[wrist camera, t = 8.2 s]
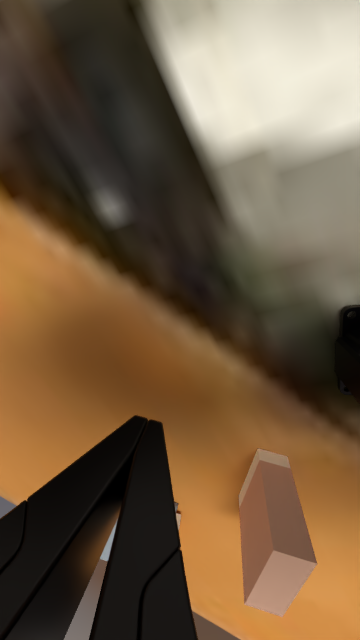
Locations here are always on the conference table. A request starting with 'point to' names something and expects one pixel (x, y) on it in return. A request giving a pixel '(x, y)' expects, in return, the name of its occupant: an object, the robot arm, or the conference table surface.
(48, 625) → the robot arm
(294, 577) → the terracotta block
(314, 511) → the conference table surface
